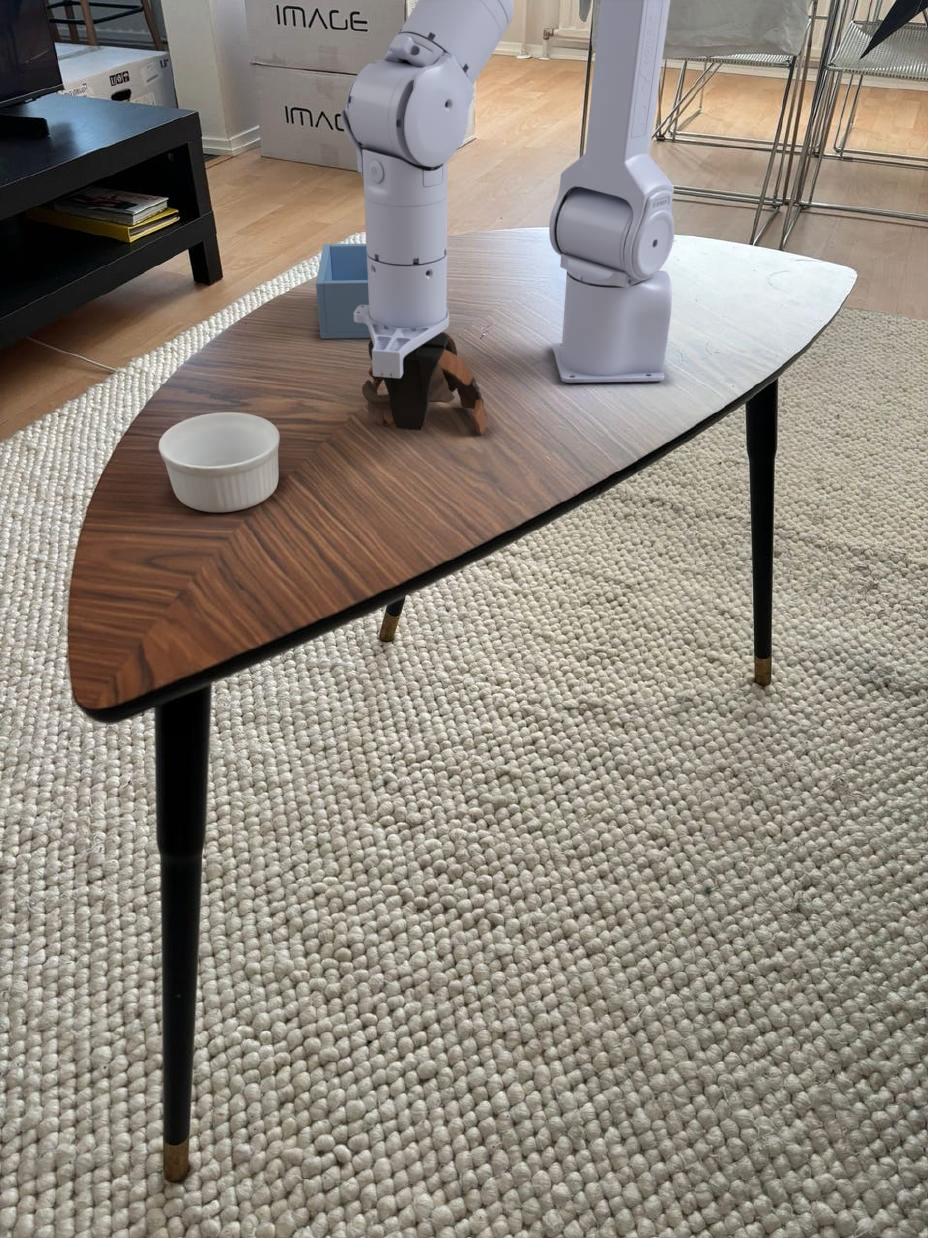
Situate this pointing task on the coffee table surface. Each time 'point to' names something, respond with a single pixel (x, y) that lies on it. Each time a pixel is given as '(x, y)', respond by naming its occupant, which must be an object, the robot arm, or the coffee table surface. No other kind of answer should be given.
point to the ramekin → (222, 460)
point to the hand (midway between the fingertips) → (410, 426)
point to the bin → (342, 290)
